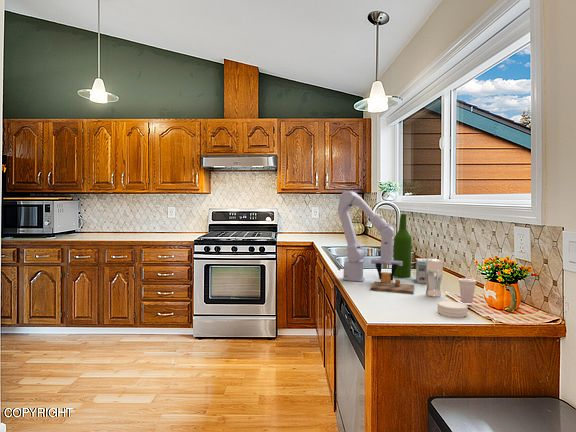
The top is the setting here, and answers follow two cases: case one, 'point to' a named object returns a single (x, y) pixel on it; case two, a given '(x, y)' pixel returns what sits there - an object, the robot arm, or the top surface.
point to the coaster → (452, 309)
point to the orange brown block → (386, 277)
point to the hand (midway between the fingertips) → (386, 279)
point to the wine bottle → (402, 250)
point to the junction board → (393, 287)
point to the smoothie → (467, 289)
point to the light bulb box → (420, 270)
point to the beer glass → (433, 276)
